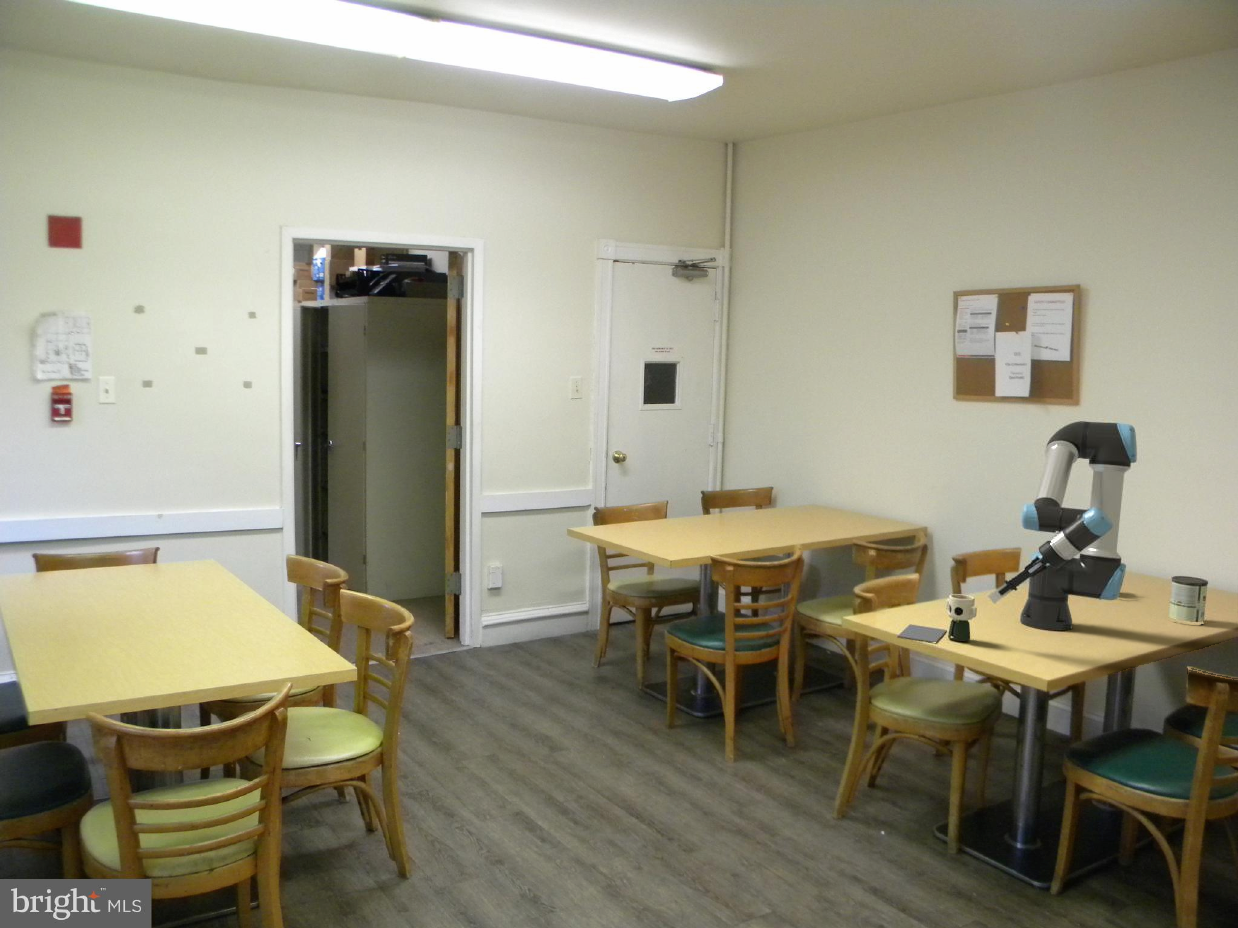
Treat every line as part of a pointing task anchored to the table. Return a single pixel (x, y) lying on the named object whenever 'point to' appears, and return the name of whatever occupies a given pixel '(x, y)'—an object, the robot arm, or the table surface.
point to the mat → (922, 633)
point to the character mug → (960, 615)
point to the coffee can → (1188, 598)
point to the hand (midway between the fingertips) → (991, 599)
